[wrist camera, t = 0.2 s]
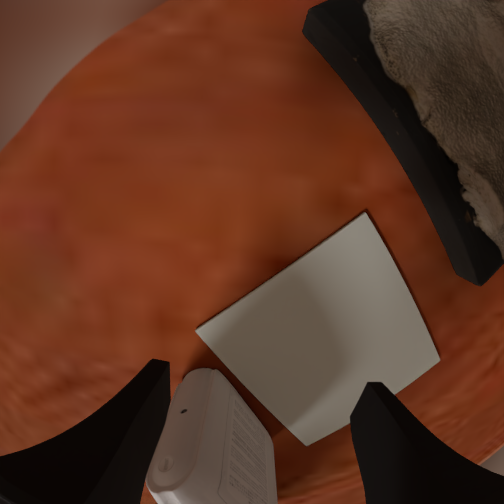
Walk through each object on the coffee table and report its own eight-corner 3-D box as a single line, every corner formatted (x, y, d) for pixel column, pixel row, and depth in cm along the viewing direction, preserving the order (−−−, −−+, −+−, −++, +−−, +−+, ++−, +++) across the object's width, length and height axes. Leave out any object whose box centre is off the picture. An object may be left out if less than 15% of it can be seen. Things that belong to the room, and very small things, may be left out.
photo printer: (169, 377, 22) (122, 505, 10) (216, 357, 22) (191, 497, 10) (236, 454, 24) (232, 567, 12) (279, 439, 24) (291, 558, 11)
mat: (305, 444, 24) (306, 446, 23) (195, 329, 21) (195, 330, 21) (438, 358, 22) (440, 360, 22) (364, 211, 20) (365, 212, 19)
